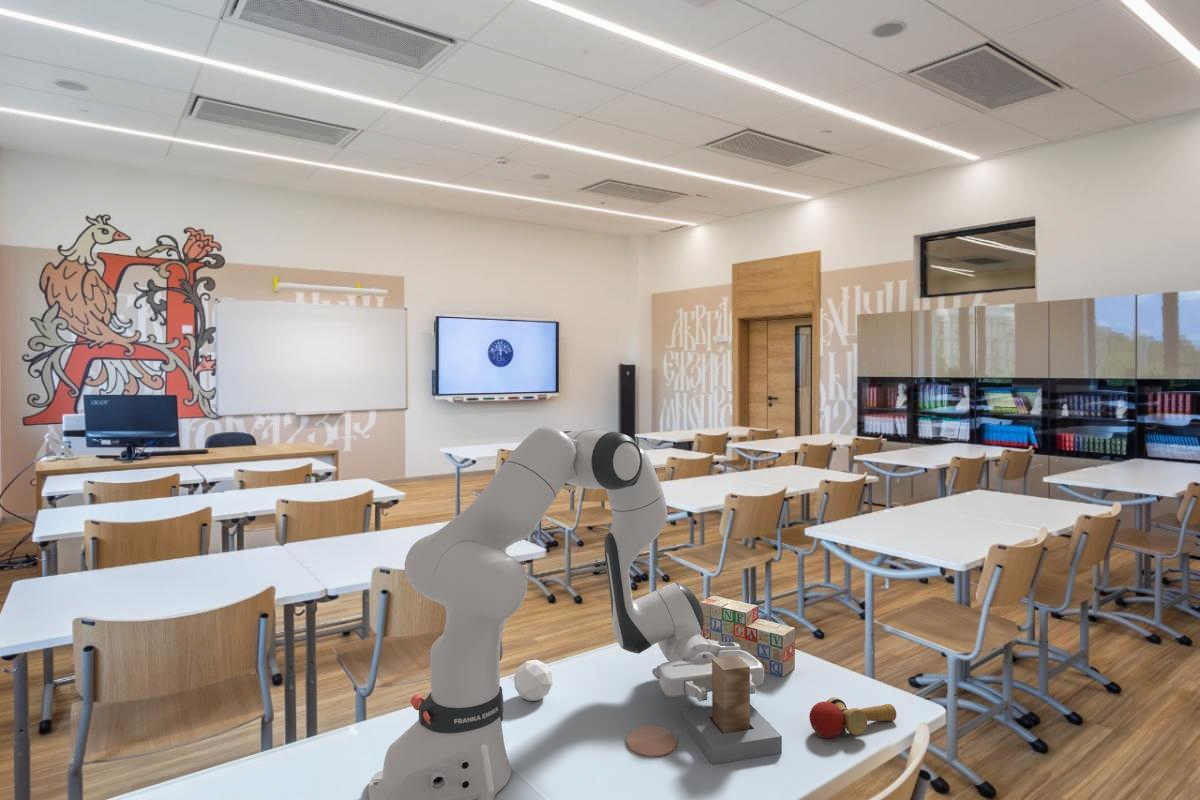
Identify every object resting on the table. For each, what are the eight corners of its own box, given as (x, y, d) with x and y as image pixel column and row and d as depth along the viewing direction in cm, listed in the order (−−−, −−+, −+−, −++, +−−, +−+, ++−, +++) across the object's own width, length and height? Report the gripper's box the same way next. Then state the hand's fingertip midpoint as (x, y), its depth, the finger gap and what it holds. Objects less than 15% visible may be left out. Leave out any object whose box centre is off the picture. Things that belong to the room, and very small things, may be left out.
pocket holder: (711, 764, 114) (711, 747, 114) (683, 726, 127) (683, 710, 127) (781, 753, 118) (781, 736, 118) (747, 716, 130) (747, 701, 130)
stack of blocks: (795, 668, 151) (795, 614, 151) (782, 678, 147) (782, 622, 146) (713, 644, 166) (713, 594, 165) (699, 652, 161) (699, 600, 161)
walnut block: (723, 748, 119) (723, 670, 119) (712, 734, 124) (711, 658, 124) (750, 744, 121) (749, 666, 120) (737, 730, 125) (737, 655, 125)
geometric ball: (532, 716, 137) (518, 695, 132) (516, 688, 143) (502, 667, 138) (564, 692, 139) (551, 671, 134) (546, 665, 145) (533, 644, 141)
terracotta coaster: (643, 762, 115) (643, 758, 115) (617, 737, 123) (617, 734, 123) (687, 747, 120) (687, 744, 120) (659, 724, 128) (659, 721, 128)
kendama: (871, 715, 133) (796, 721, 126) (879, 686, 132) (804, 690, 125) (900, 742, 126) (823, 749, 119) (909, 711, 125) (831, 717, 118)
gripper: (649, 652, 134) (673, 683, 120) (744, 641, 139) (778, 669, 125) (649, 684, 134) (673, 718, 121) (744, 672, 139) (778, 703, 126)
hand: (728, 693), depth 123 cm, fingers open, 8 cm apart
